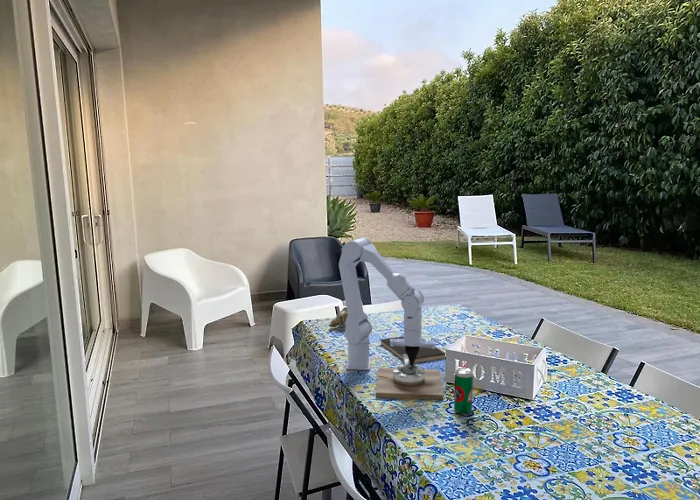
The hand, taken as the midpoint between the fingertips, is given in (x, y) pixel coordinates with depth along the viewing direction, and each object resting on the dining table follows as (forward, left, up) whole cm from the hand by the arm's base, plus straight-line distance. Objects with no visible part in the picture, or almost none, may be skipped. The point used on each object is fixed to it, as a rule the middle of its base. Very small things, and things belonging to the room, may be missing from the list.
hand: (412, 367), depth 185 cm
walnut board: (+8, -1, -3) cm, 9 cm away
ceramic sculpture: (-51, -27, -3) cm, 58 cm away
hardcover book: (-24, +1, -3) cm, 24 cm away
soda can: (+25, +14, -3) cm, 29 cm away
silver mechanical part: (+4, -2, -1) cm, 4 cm away
